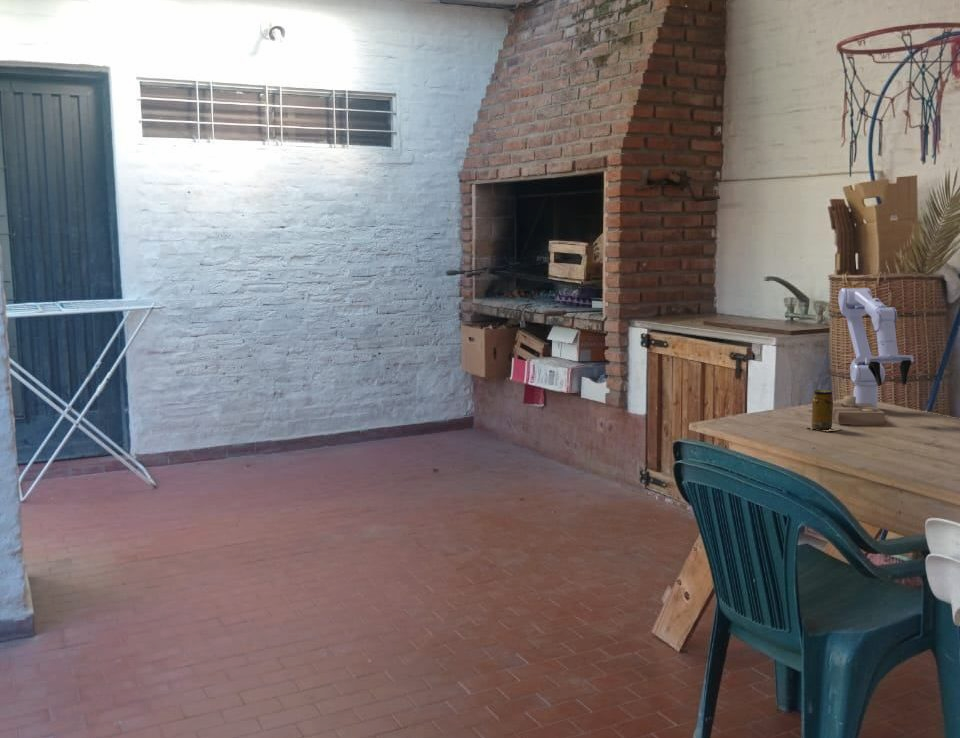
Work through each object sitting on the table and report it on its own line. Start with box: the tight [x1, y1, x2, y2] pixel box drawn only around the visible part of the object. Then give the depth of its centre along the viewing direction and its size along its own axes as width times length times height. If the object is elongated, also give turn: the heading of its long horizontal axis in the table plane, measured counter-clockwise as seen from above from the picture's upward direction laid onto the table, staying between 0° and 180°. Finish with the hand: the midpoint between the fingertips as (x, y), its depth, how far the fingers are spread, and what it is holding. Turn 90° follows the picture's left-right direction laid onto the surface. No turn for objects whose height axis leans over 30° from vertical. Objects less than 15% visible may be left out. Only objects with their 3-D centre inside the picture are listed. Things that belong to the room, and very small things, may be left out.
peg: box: [843, 395, 856, 407], centre depth 326 cm, size 4×4×4 cm
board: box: [832, 402, 886, 426], centre depth 323 cm, size 16×14×4 cm
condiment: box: [811, 389, 834, 433], centre depth 309 cm, size 7×8×12 cm
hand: (892, 384), depth 318 cm, fingers open, 7 cm apart
